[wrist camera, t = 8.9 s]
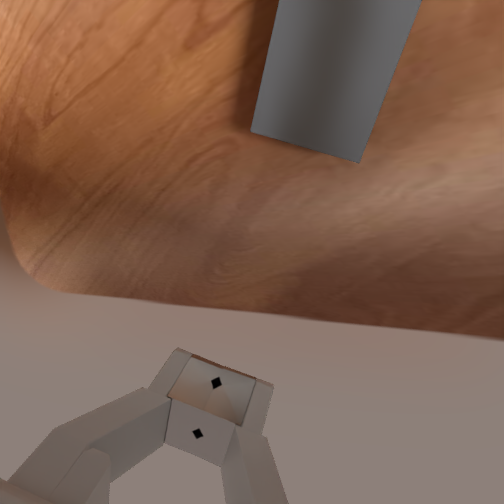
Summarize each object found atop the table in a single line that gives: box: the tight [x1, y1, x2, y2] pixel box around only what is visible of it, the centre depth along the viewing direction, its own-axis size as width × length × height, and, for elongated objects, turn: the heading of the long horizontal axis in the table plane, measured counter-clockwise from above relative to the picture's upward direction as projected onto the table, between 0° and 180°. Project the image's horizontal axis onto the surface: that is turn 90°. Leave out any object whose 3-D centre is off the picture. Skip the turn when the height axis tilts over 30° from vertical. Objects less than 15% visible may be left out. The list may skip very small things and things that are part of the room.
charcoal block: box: [250, 0, 422, 163], centre depth 21 cm, size 7×10×6 cm
